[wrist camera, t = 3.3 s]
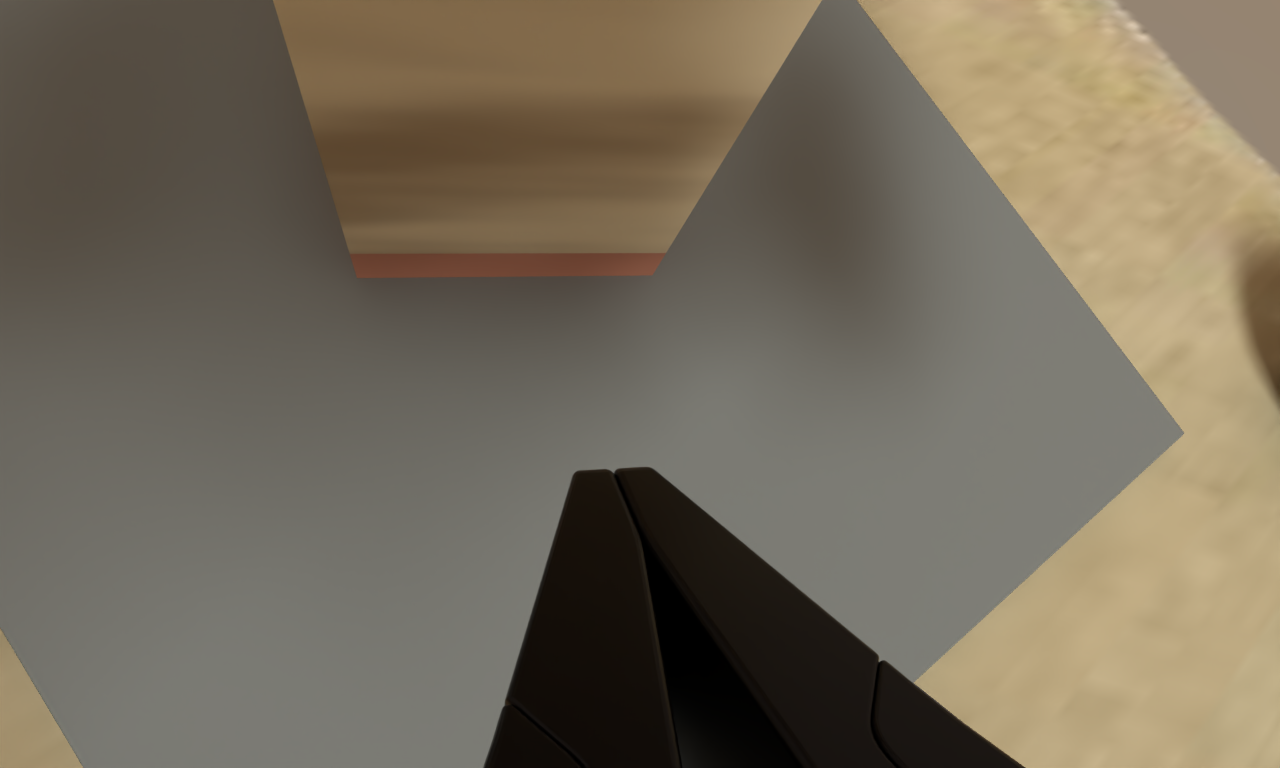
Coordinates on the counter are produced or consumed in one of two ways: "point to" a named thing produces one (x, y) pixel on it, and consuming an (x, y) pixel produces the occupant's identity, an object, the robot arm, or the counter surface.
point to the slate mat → (488, 396)
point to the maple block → (527, 124)
